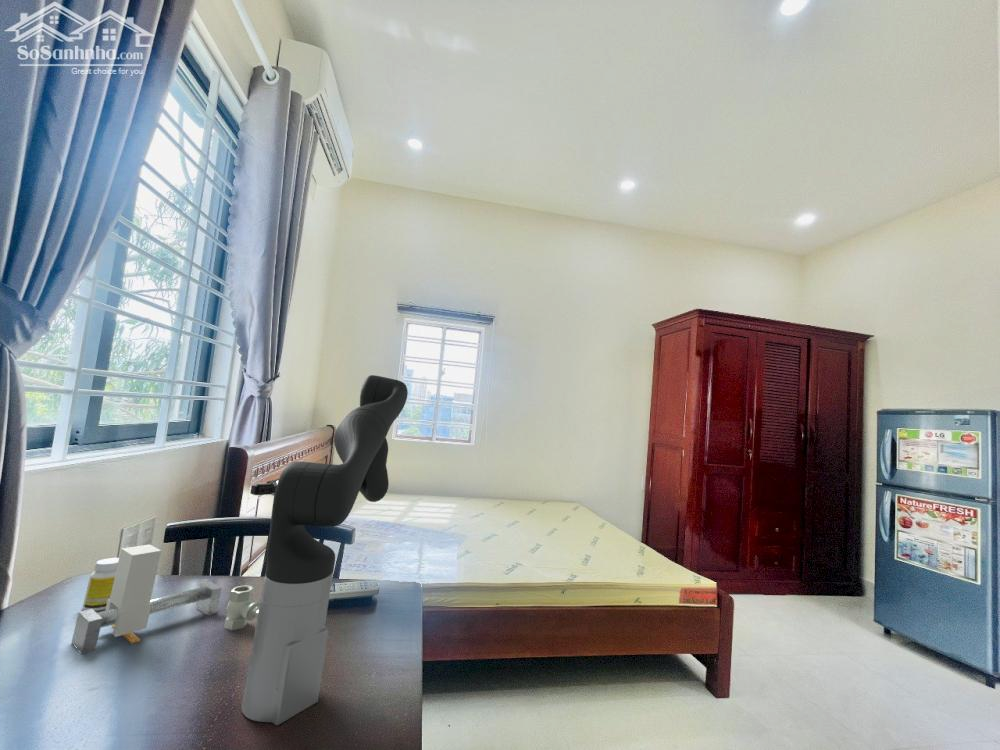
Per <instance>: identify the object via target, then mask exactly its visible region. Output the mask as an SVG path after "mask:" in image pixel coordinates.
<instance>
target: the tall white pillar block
mask: <svg viewBox="0 0 1000 750" xmlns="http://www.w3.org/2000/svg"><path fill="white" fill-rule="evenodd" d="M161 553H162V550H161V549H159V548H158V547H156V546H154V545H152V544H143V545H137V546H129V547H123V548H121V549H120V553H119V557H118V558H119V561H118V565H117V570H116V574H115V578H114V582H113V587H112V591H111V595H110V599H108V601H107V605H106V609H104V611H107V610H111V609H115V608H118V613H117V617H116V621H115V624H114V625H115V626H114V628H113V631H112V635H113V636H114V637H115V638H116V637H120V636H122V635H124V634H127V633H131V632H132V633H134V632H137V631H141V630H143V629H147V628H148V627H147V625H148V622H149V616H150V615H149V613H150V609H151V604H152V603H151V602H150V600H152V594H153V590H154V586H155V582H156V581H155V580H156V578H157V572H158V567H159V563H160V558H161ZM109 626H111V625H109ZM109 626H108V627H109ZM106 627H107V626H105V627H104V628H106Z"/></svg>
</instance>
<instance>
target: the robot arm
mask: <svg viewBox="0 0 1000 750" xmlns="http://www.w3.org/2000/svg"><path fill="white" fill-rule="evenodd" d="M407 399H408V387H407V385H406V383H405V382H403V381H401V380H398V379H395V378H390V377H387V376H386V377H385V376H381V375H375V374H374V375H373V374H371V375H368V376H367V377H366V378H365V380H364V382H363V384H362V387H361V390H360V395H359V406H358V407H356V408H354V409H353V410H351V411H350V412H349V413H348V414H347V415H346V416H345V417H344V418H343V420H342V421H341V422H340V423H339V425H338V426H337V428H336V430H335V432H334V436H333V444H334V447H335V450H336V451H335V452H336V454H337V455H338V457H339V459H340V460H341V462H342V463H341V464H331V463H320V462H309V461H293V462H291V463H289V464H288V465H287V466H286V467H285V468H284V469H283V471H281V474H280V475H279V478H277V479H273V480H267V481H266V483H253V484H251V486H250V487H251V488H250V494H251V495H253V496H264V495H265V496H267V495H269V496H273V501H272V508H271V519H270V525H269V526H270V527H269V532H268V533H269V534H268V540H267V547H266V568H265V572H264V580H263V585H262V591H261V594H260V599H259V600H260V601H259V604H260V605H259V611H258V617H257V618H256V622H255V623H256V624H255V627H254V628H255V629H254V633H253V634H254V635H253V640H252V646H251V651H250V657H249V661H248V668H247V673H246V680H245V684H244V690H243V696H242V700H241V706H240V707H241V712H242V714H243V715H244V716H245V717H246V718H247V719H249V720H251V721H254V722H260V723H272V724H274V725H275V726H279V725H280V724H282V723H284V722H286V721H288V720H290V719H291V718H292V717H294V716H296V715H298V714H299V713H301V712H303V711H305V710H306V709H307V708H310V707H311V706H313V705H314V704H316V703H318V702H319V696H320V690H321V684H322V678H323V677H322V676H323V671H324V663H325V656H326V652H327V644H328V636H329V631H328V629H325V627H326V622H327V621H326V620H327V614H328V608H329V602H330V601H329V600H330V597H331V596H330V594H331V588H332V583H333V575H334V570H335V569H334V568H335V563H336V553H335V551H334V550H333V549H332V548H331V547H330V546H328V545H326V544H324V543H322V542H320V541H318V540H317V539H315V538H314V537H313V536H312V535H311V534H310V533H309V532H308V531H307V530H306V528H305V526H309V527H322V528H332V527H337V526H339V525H341V524H343V522H345V520H346V519H347V518H348V517H349V515H350V513H351V512H352V510H353V508H354V505H355V503H356V500H357V499H358V498H357V497H358V495H359V493H360V494H361V495H362V496H363V497H364V498H365V499H366V500H367V501H368V502H371V503H374V502H375V503H376V502H379V501H381V500H382V499H383V498H384V497H385V496H386V494H387V492H388V490H389V482H390V481H389V474H388V469H387V468H388V467H387V462H388V455H389V443H388V441H387V435H388V432H389V431H390V429H391V427H392V425H393V424H394V422H395V420H396V419H397V418H398V417H399V415H400V414H401V412H402V411H403V409H404V407H405V405H406V403H407Z"/></svg>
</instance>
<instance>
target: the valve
mask: <svg viewBox="0 0 1000 750" xmlns="http://www.w3.org/2000/svg"><path fill="white" fill-rule="evenodd" d="M254 589H255V587H254V586H251V585H246V584H245V585H239V586H235V587H233V588H232V589H231V591H230V593H229V599H228V600H229V601H228V603H227V605H226V608H225V616H226V618H225V621H224V625H223V626H224V627H223V628H224V629H225V630H226V629H227V630H229V631H234V630H235V631H236V630H239V629H240V630H241V629H243V628H245V627H246V625H248V623H249V622H250V621H253V620H255V619H257V617H258V611H259V605H260V602H257V601H253V600H252V597H253V595H254Z"/></svg>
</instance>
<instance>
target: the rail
mask: <svg viewBox="0 0 1000 750" xmlns="http://www.w3.org/2000/svg"><path fill="white" fill-rule="evenodd" d="M221 594H222V587H221V586H219V585H218V584H216V583H214V582H212V581H210V580H208V581H203V582H200V584H199V587H197V588H192V589H189V590H184V591H181V592H180V591H179V592H177V593H172V594H168V595H164V596H161V597H156V598H151V600H150V602H151V603H152V604H151V609H150V613H149V616H150V615H152V614H156V613H160V612H164V611H168V610H171V609H175V608H179V607H182V606H186V605H190V604H194V603H196V604H195V609H197V610H198V611H199V612H201V613H203V614H204V615H206V616H211V615H214V614H217V612H218V608H219V602H220V597H221ZM117 613H118V608H115V609H111V610H107V611H105V610H102V611H98V612H97V611H94V610H93V609H89V610H80V611H78V615H77V617H76V623H75V626H74V629H73V635H72V638H71V642H72V643H73V644H74V645H75V646H76V647H77V649H78V650H79V651H80V652H81V653H80V652H79V651H78V650H77V649H76V650H77V651H78V652H79V653H80V654H81V655H82V654H83V655H84V654H86V653H89V652H92V651H95V650H96V647H97V644H98V640H99V635H100V631H101V628H106V627H109V625H110V626H111V627H112V628H113V629H114V626H115V621H116V617H117ZM105 626H106V627H105ZM121 636H122V637H123V638H124V639H125V640H126V641H127V642H128V643H129V644H130V645H134V644H136V643H137V644H138V643H141V642H142V640H141V639H140V638H139V637H138V636H137V635H136V634H134V632H131V633H127V634H124V635H121ZM72 643H71V644H72ZM73 644H72V645H73ZM74 645H73V646H74ZM75 646H74V647H75ZM76 647H75V648H76Z"/></svg>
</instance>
